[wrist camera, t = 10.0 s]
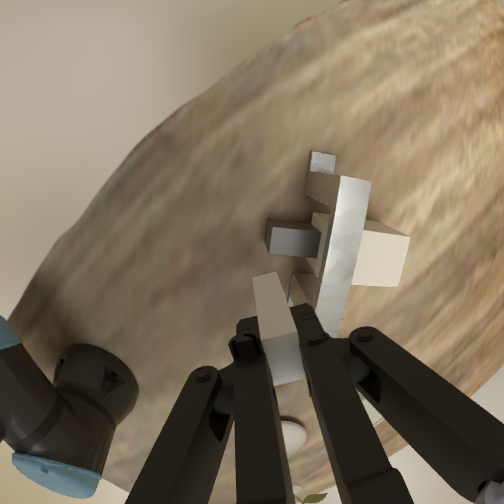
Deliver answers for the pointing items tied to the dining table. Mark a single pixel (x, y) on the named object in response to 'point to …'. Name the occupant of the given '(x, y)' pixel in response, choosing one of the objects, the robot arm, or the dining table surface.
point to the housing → (332, 242)
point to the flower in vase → (293, 443)
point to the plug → (369, 256)
